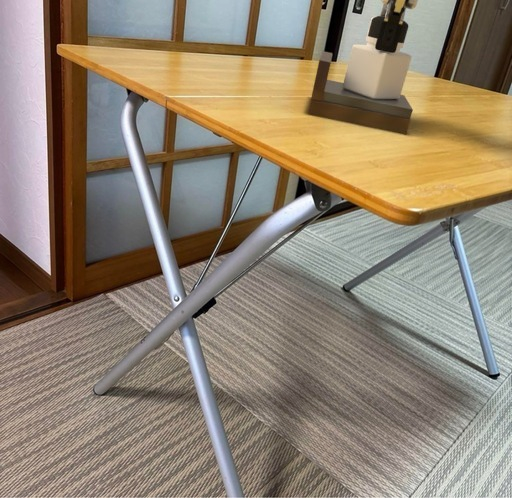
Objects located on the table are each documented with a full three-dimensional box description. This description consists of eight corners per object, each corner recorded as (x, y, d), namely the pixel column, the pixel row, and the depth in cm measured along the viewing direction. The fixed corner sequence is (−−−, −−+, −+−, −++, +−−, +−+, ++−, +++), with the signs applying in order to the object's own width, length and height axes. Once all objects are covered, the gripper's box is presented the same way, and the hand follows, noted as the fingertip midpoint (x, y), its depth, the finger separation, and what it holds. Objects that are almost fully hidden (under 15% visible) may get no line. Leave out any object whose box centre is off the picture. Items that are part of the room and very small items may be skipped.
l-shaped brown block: (397, 116, 94) (411, 69, 90) (405, 135, 82) (422, 80, 78) (312, 99, 95) (322, 51, 91) (307, 114, 83) (319, 59, 79)
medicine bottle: (400, 99, 87) (422, 23, 81) (374, 99, 82) (395, 19, 77) (367, 89, 91) (386, 15, 86) (341, 88, 87) (359, 11, 81)
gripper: (453, -81, 67) (412, 59, 75) (432, -67, 83) (400, 48, 91) (396, -91, 68) (361, 49, 76) (386, -75, 83) (358, 40, 91)
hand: (383, 47), depth 83 cm, fingers closed on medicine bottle, 7 cm apart
